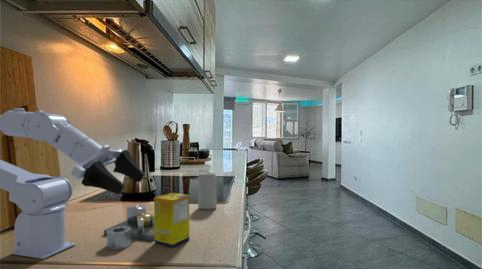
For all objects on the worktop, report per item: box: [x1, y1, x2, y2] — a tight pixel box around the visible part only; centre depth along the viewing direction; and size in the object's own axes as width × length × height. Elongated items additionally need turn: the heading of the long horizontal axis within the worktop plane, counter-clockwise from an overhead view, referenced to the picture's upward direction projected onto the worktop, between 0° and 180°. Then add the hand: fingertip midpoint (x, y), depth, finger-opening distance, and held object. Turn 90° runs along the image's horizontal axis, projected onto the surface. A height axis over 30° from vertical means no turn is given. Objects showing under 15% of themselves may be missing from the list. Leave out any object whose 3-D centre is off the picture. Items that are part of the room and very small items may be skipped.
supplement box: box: [153, 192, 190, 249], centre depth 69 cm, size 6×6×11 cm
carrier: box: [103, 205, 155, 242], centre depth 78 cm, size 14×14×5 cm
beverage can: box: [197, 171, 218, 211], centre depth 100 cm, size 6×6×12 cm
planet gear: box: [106, 226, 132, 251], centre depth 67 cm, size 5×5×4 cm
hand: (132, 183), depth 62 cm, fingers open, 7 cm apart
